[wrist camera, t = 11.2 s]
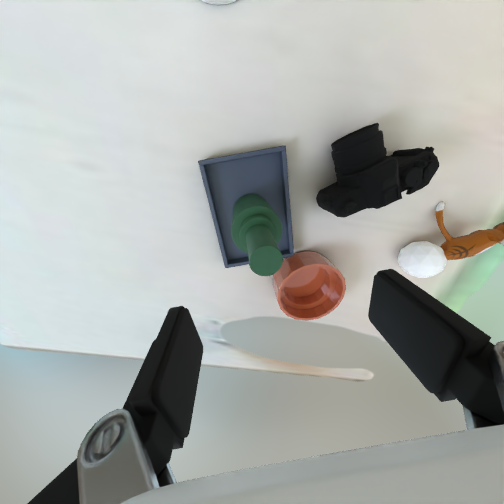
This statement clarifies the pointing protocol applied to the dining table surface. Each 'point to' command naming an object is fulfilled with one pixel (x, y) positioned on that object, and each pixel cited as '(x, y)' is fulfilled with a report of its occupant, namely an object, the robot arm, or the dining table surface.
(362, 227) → the dining table surface
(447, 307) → the robot arm
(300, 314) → the bowl
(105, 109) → the dining table surface
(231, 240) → the tray
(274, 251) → the bottle
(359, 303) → the dining table surface
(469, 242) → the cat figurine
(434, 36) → the dining table surface
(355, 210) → the film camera
